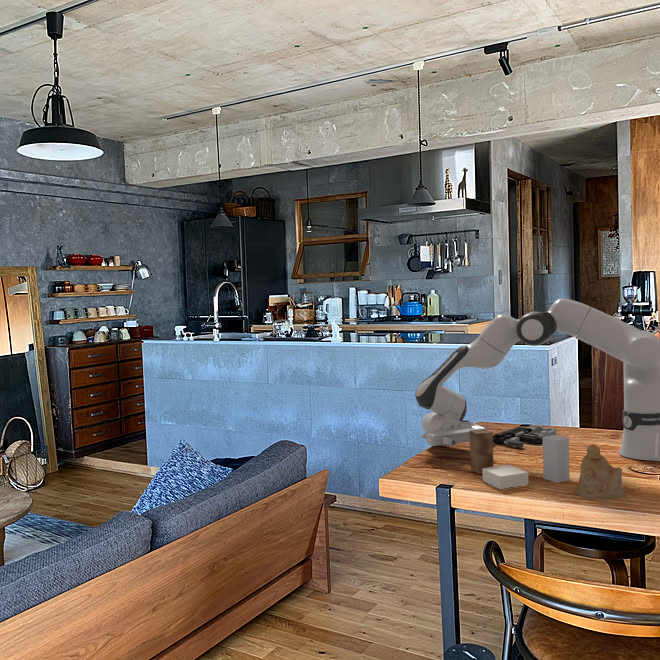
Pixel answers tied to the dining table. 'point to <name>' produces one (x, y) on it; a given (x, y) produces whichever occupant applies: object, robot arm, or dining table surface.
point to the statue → (599, 477)
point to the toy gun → (523, 435)
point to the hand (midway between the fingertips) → (466, 440)
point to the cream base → (505, 476)
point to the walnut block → (481, 449)
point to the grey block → (556, 458)
